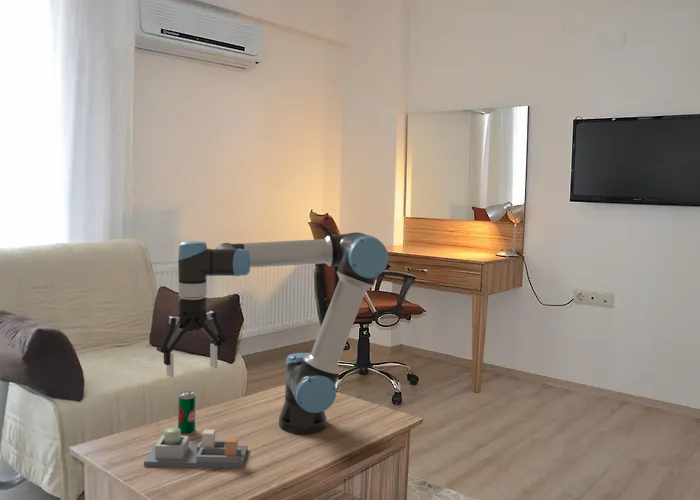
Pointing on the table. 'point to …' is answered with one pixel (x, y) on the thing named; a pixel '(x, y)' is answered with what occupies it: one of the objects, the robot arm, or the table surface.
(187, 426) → the soda can
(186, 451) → the panel
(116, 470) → the table surface
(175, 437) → the button
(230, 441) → the knob terracotta
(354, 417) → the table surface
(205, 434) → the knob cream
